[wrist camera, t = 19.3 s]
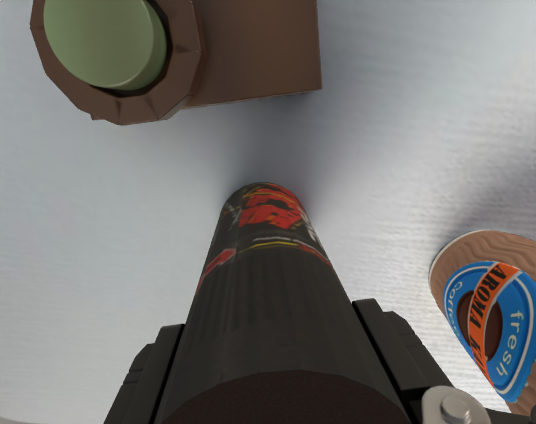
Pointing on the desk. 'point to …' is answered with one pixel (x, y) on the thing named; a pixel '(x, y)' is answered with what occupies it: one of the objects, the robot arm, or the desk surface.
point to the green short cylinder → (107, 41)
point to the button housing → (205, 58)
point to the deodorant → (274, 329)
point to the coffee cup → (492, 308)
